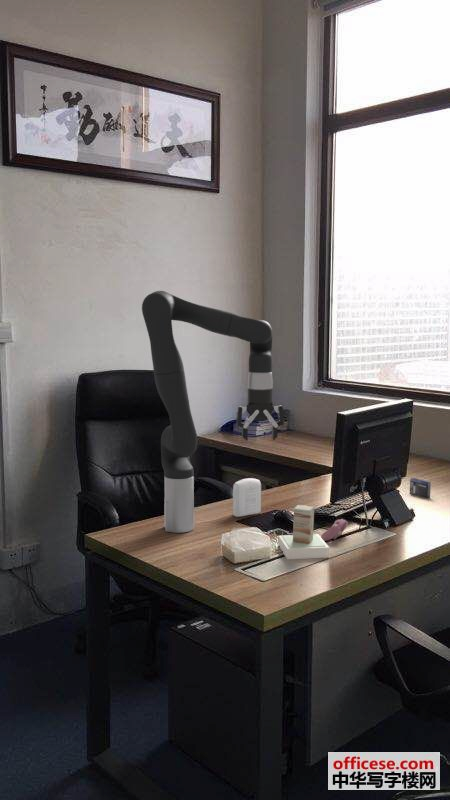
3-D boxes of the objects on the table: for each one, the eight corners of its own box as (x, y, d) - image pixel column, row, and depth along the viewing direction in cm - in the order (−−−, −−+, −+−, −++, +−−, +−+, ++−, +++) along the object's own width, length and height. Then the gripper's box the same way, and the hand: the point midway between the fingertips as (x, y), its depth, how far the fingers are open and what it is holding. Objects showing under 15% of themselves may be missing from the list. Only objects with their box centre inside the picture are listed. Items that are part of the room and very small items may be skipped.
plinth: (287, 559, 203) (287, 548, 203) (278, 545, 215) (278, 535, 215) (329, 557, 205) (329, 546, 205) (317, 543, 217) (318, 533, 216)
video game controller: (331, 547, 218) (341, 529, 216) (318, 538, 220) (329, 520, 217) (343, 538, 227) (353, 520, 224) (330, 530, 228) (340, 512, 226)
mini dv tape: (409, 493, 274) (410, 478, 273) (412, 493, 275) (412, 477, 274) (427, 498, 267) (428, 482, 266) (430, 497, 268) (430, 481, 267)
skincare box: (292, 542, 208) (292, 508, 207) (296, 537, 212) (297, 504, 211) (309, 544, 206) (310, 510, 205) (313, 539, 210) (314, 506, 209)
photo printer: (255, 510, 252) (255, 475, 250) (262, 513, 248) (263, 478, 246) (230, 515, 246) (230, 479, 244) (238, 518, 242) (238, 482, 241)
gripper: (238, 388, 214) (238, 442, 216) (286, 388, 216) (285, 441, 218) (234, 385, 221) (234, 438, 223) (280, 385, 223) (280, 437, 225)
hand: (259, 439), depth 220 cm, fingers open, 8 cm apart
